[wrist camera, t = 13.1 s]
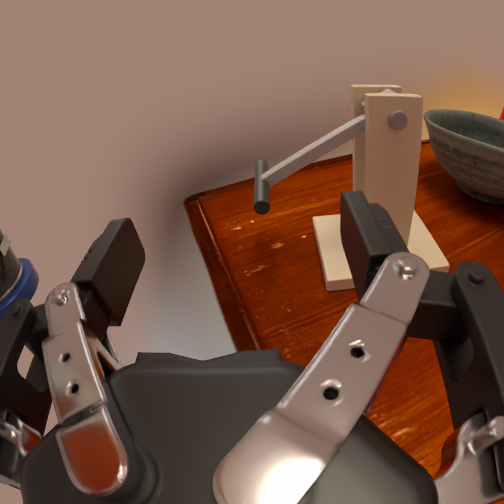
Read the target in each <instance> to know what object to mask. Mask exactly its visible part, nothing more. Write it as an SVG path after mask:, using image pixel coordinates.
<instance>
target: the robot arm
mask: <svg viewBox="0 0 504 504" xmlns="http://www.w3.org/2000/svg"><path fill="white" fill-rule="evenodd" d="M340 235H341V242H342V246H343V249H344V252H345V255H346V259H347V262H348V265H349V269H350V272H351V275H352V279H353V282H354V286H355V289H356V293H357V296H358V300H359V303H357V302H353V303H352V304H351V305H350V306H349V307H348V309H347V310H346V312H345V313H344V315H343V316H342V318H341V319H340V321H339V322H338V324H337V325H336V327H335V328H334V330H333V331H332V333H331V334H330V335H329V337H328V338H327V340H326V341H325V342H324V344H323V345H322V347H321V348H320V349H319V351H318V352H317V354H316V355H315V356H314V358H313V359H312V360H311V362H310V363H309V365H308V366H304V365H302V364H299V363H296V362H292V361H288V360H282V359H281V354H280V349H268V350H253V351H240V352H237V353H233V354H229V355H225V356H221V357H218V358H213V359H210V360H205V361H201V360H196V359H192V358H187V357H184V356H179V355H175V354H171V353H141V352H138V355H137V358H136V362H135V363H133V364H130V365H127V366H125V367H123V365H122V363H121V360H120V358H119V356H118V353H117V351H116V349H115V346H114V344H113V342H112V339H111V337H110V335H109V334H108V332H107V328H108V326H121V323H122V320H123V318H124V315H125V312H126V309H127V307H128V304H129V301H130V299H131V296H132V293H133V291H134V288H135V286H136V283H137V281H138V278H139V275H140V273H141V270H142V268H143V266H144V263H145V252H144V248H143V246H142V243H141V241H140V239H139V236H138V234H137V232H136V229H135V227H134V224H133V222H132V220H131V219H130V218H123V219H117V220H112V221H110V223H109V224H108V226H107V227H106V229H105V230H104V232H103V234H102V235H101V236H100V237H99V238H97V240H95V241H94V242H93V244H92V245H91V247H90V249H89V250H88V253H87V254H86V255H85V257H84V260H82V262H81V264H80V265H79V267H78V269H77V270H76V272H75V274H74V276H73V278H72V279H71V281H70V282H66V283H63V284H60V285H59V286H57V287H56V288H54V289H53V290H52V291H51V292H50V293H49V295H48V296H47V298H46V301H45V303H44V304H41V305H39V306H36V307H34V306H33V305H32V304H31V302H30V301H29V300H28V299H27V298H21V299H19V300H17V301H15V302H14V303H13V304H12V305H11V306H10V307H9V308H8V310H7V311H6V313H5V315H4V317H3V319H2V321H1V323H0V482H1V483H3V484H8V485H10V486H12V487H14V488H17V489H19V490H21V493H22V498H23V504H494V503H497V502H501V501H504V294H503V292H502V290H501V288H500V286H499V284H498V283H497V281H496V279H495V277H494V275H493V274H492V272H491V271H490V270H489V269H488V268H487V267H485V266H484V265H482V264H480V263H477V262H474V261H465V262H462V263H460V264H459V265H458V266H457V267H456V270H455V273H446V272H439V271H433V270H430V269H429V266H428V264H427V263H426V262H425V261H424V260H423V259H422V258H421V257H419V256H418V255H415V254H413V253H410V251H409V249H408V248H407V246H406V244H405V242H404V240H403V238H402V236H401V235H400V233H399V231H398V229H397V228H396V226H395V224H394V222H393V221H392V219H391V217H390V215H389V213H388V212H387V210H386V209H384V208H383V207H382V206H380V205H379V204H377V203H370V204H369V203H368V201H367V199H366V197H365V195H364V193H363V192H362V191H348V192H341V199H340ZM23 274H24V267H23V265H22V264H21V262H20V261H19V260H18V258H17V257H16V255H15V254H14V252H13V250H12V249H11V247H10V240H9V238H8V237H7V235H6V234H5V236H4V234H3V233H2V231H1V229H0V304H1V303H2V302H4V301H5V300H6V299H7V298H8V297H9V296H10V295H11V294H12V293H13V291H14V290H15V289H16V287H17V286H18V285H19V283H20V281H21V279H22V277H23ZM408 337H415V338H423V339H431V340H433V343H434V347H435V350H436V354H437V357H438V361H439V365H440V369H441V372H442V376H443V380H444V384H445V389H446V393H447V397H448V402H449V407H450V411H451V416H452V421H453V427H454V432H453V433H452V434H451V435H450V436H449V437H448V438H447V439H446V441H445V443H444V445H443V448H442V454H441V465H440V468H439V470H438V472H437V474H436V475H435V476H434V478H432V477H431V475H430V474H429V473H428V471H427V470H426V469H425V468H424V467H423V466H421V465H420V464H419V463H418V462H417V461H416V460H414V459H413V458H412V457H411V456H410V455H409V454H408V453H406V452H405V451H404V450H403V449H402V448H401V447H399V446H398V445H397V444H396V443H395V442H394V441H393V440H391V439H390V438H389V437H388V436H387V435H386V434H385V433H384V432H382V431H381V430H380V429H379V428H378V427H377V426H376V425H375V424H374V423H372V422H371V421H370V420H369V419H368V418H367V416H368V414H369V412H370V411H371V409H372V407H373V406H374V404H375V402H376V400H377V398H378V396H379V395H380V393H381V391H382V389H383V387H384V385H385V383H386V381H387V379H388V377H389V375H390V373H391V371H392V369H393V367H394V365H395V363H396V361H397V359H398V357H399V355H400V353H401V351H402V348H403V346H404V344H405V342H406V340H407V338H408ZM24 345H25V346H26V347H27V348H28V349H29V350H30V351H31V352H32V353H33V354H34V357H33V360H32V362H31V365H30V368H29V371H28V373H27V376H26V379H24V378H23V377H22V376H21V375H20V374H19V372H18V369H17V362H18V359H19V357H20V354H21V352H22V350H23V347H24ZM52 400H53V404H54V408H55V412H56V416H57V419H58V424H57V425H56V426H55V427H54V428H53V429H52V430H51V431H50V432H48V433H47V434H46V435H45V436H44V437H43V435H44V431H45V427H46V422H47V419H48V415H49V411H50V407H51V404H52Z"/></svg>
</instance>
